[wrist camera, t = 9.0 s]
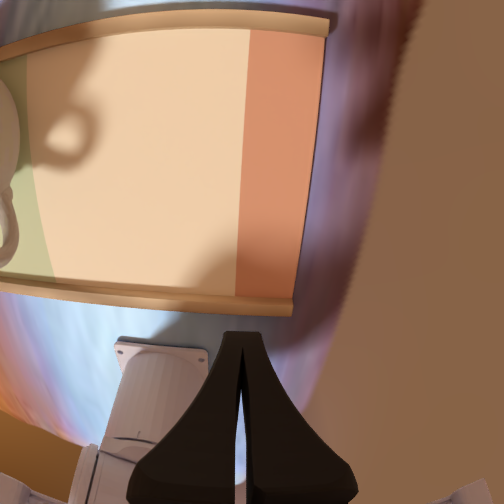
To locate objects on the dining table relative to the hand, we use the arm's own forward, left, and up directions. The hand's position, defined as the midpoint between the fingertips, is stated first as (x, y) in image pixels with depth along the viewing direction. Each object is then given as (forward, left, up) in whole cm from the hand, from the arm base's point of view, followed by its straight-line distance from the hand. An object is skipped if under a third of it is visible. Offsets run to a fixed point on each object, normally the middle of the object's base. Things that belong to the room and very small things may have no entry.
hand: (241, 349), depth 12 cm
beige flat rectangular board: (+4, +13, -9) cm, 16 cm away
